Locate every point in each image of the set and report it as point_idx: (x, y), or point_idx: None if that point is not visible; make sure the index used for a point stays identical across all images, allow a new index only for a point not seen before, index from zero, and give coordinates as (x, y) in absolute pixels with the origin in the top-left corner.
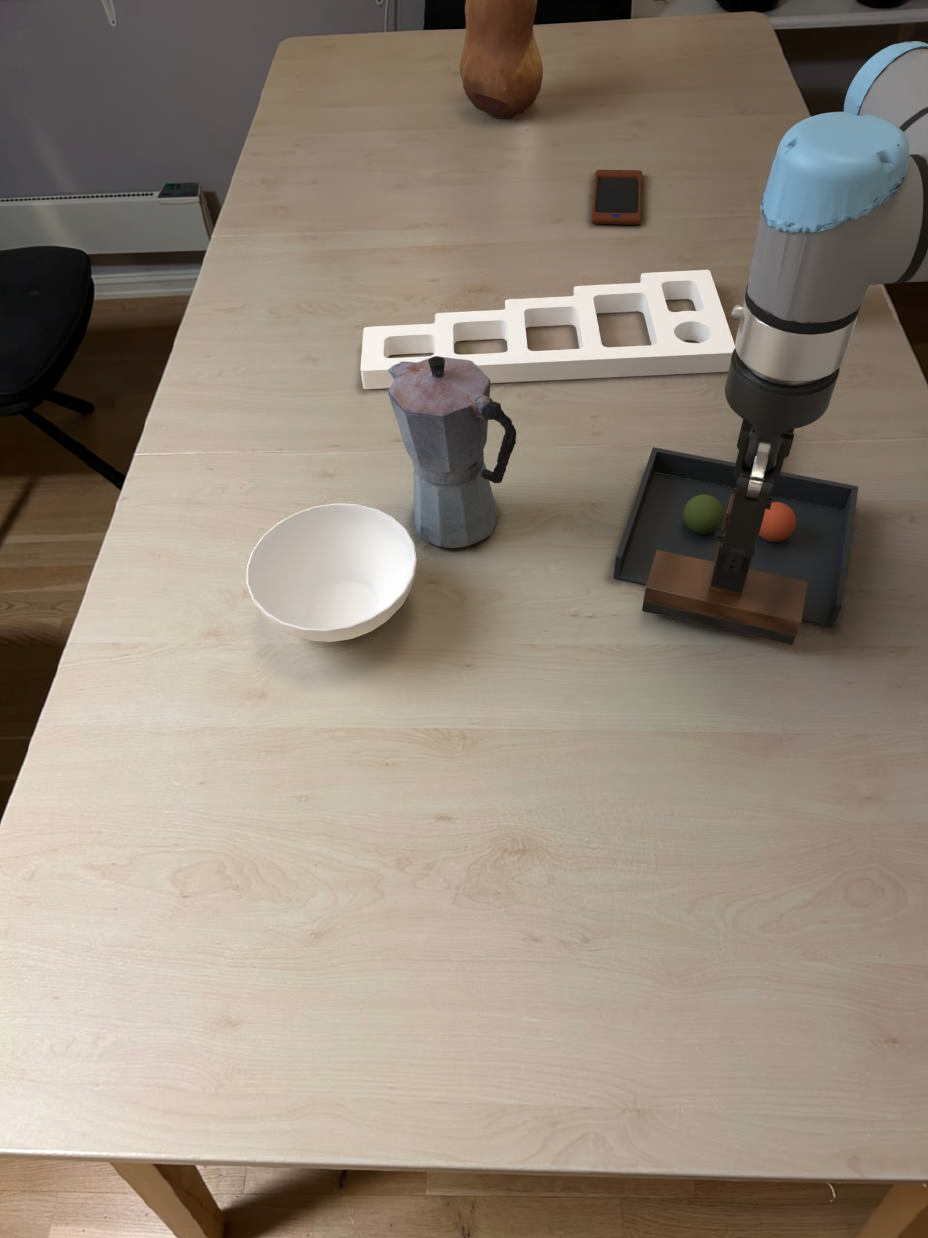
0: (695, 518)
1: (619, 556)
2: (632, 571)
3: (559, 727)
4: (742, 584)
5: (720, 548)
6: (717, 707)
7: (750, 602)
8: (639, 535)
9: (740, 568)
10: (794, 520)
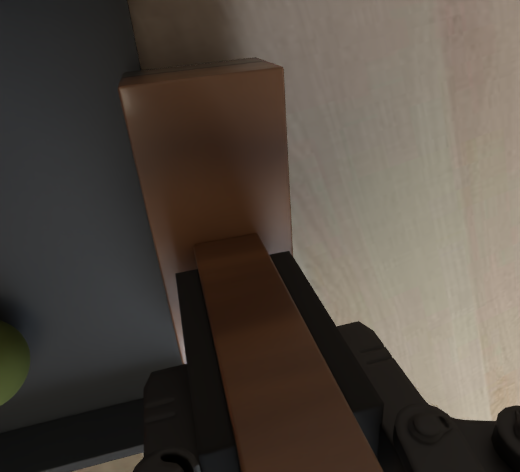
0: (18, 380)
1: None
2: None
3: (475, 322)
4: (299, 269)
5: None
6: (408, 151)
7: (263, 207)
8: (88, 402)
9: (380, 341)
10: None
